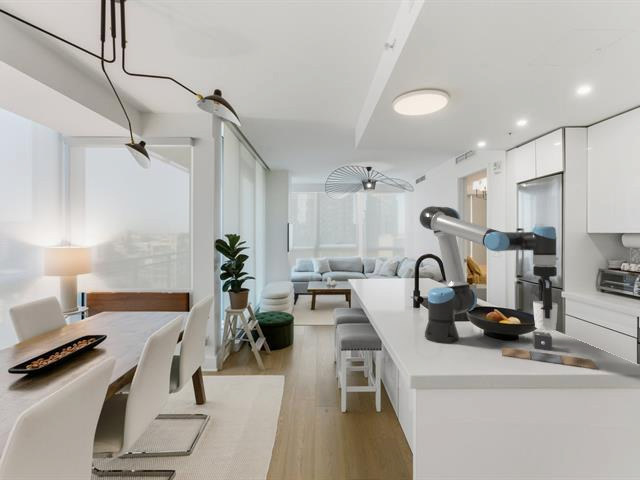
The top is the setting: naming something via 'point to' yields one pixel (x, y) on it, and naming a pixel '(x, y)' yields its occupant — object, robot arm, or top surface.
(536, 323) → the white cup
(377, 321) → the top surface
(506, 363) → the top surface
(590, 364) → the board
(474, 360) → the top surface
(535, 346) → the die
